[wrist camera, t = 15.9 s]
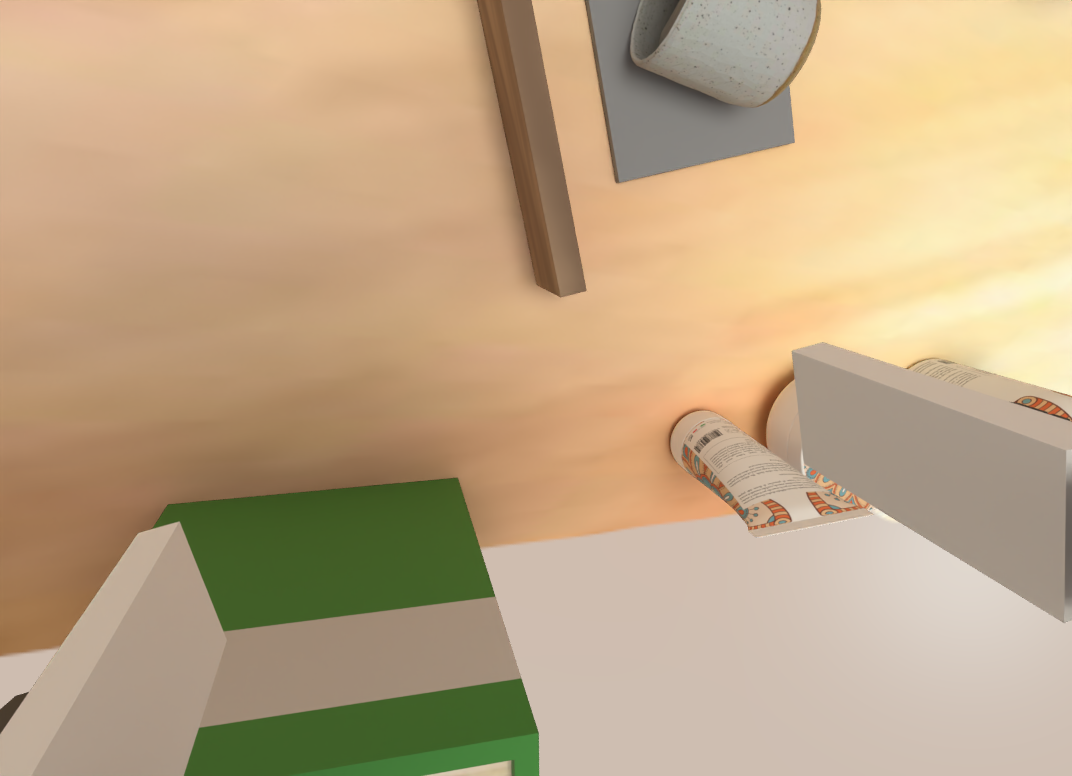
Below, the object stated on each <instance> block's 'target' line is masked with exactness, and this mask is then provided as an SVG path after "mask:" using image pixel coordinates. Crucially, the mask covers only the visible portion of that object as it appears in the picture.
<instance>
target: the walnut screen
mask: <svg viewBox="0 0 1072 776" xmlns="http://www.w3.org/2000/svg"><path fill="white" fill-rule="evenodd" d="M477 2H478V7H479V12H480V17H481V21H482V26H483V31H484V36H485V40H486V45H487V50H488V55H489V59H490V64H491V69H492V74H493V78H494V83H495V88H496V93H497V97H498V102H499V107H500V112H501V116H502V121H503V126H504V131H505V135H506V140H507V145H508V150H509V154H510V159H511V164H512V169H513V173H514V178H515V183H516V188H517V192H518V197H519V202H520V207H521V211H522V216H523V221H524V226H525V230H526V235H527V240H528V245H529V250H530V254H531V259H532V264H533V269H534V273H535V278H536V283H537V285H538V286H540V287H542V288H544V289H546V290H548V291H550V292H552V293H554V294H555V295H557V296H559V297H564V296H568V295H572V294H576V293H580V292H584V291H586V285H585V280H584V275H583V269H582V264H581V259H580V254H579V248H578V243H577V238H576V233H575V227H574V222H573V217H572V212H571V206H570V201H569V196H568V191H567V185H566V180H565V175H564V169H563V164H562V159H561V154H560V148H559V143H558V138H557V133H556V127H555V122H554V117H553V112H552V106H551V101H550V96H549V91H548V85H547V80H546V75H545V69H544V64H543V59H542V54H541V48H540V43H539V38H538V33H537V27H536V22H535V17H534V12H533V6H532V1H531V0H477Z"/></svg>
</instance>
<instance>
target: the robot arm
mask: <svg viewBox="0 0 1072 776" xmlns="http://www.w3.org/2000/svg"><path fill="white" fill-rule="evenodd" d="M792 358H793V367H794V377H795V386H796V395H797V405H798V414H799V423H800V433H801V442H802V452H803V461H804V464H805V465H807V466H808V467H810V468H812V469H813V470H815V471H817V472H818V473H820V474H822V475H823V476H825V477H826V478H828V479H830V480H831V481H833V482H835V483H836V484H838V485H840V486H841V487H843V488H844V489H846V490H848V491H849V492H851V493H853V494H854V495H856V496H857V497H859V498H861V499H862V500H864V501H866V502H867V503H869V504H871V505H872V506H874V507H875V508H877V509H879V510H880V511H882V512H884V513H885V514H887V515H889V516H890V517H892V518H893V519H895V520H897V521H898V522H900V523H902V524H903V525H905V526H907V527H908V528H910V529H912V530H913V531H915V532H916V533H918V534H920V535H921V536H923V537H925V538H926V539H928V540H930V541H931V542H933V543H934V544H936V545H938V546H939V547H941V548H942V549H944V550H946V551H947V552H949V553H951V554H952V555H954V556H956V557H957V558H959V559H960V560H962V561H964V562H965V563H967V564H969V565H970V566H972V567H974V568H975V569H977V570H978V571H980V572H982V573H983V574H985V575H987V576H988V577H990V578H992V579H993V580H995V581H996V582H998V583H1000V584H1001V585H1003V586H1005V587H1006V588H1008V589H1009V590H1011V591H1013V592H1015V593H1016V594H1018V595H1019V596H1021V597H1022V598H1024V599H1026V600H1027V601H1029V602H1031V603H1033V604H1034V605H1036V606H1037V607H1039V608H1041V609H1042V610H1044V611H1046V612H1047V613H1049V614H1050V615H1052V616H1054V617H1055V618H1057V619H1058V620H1060V621H1062V622H1063V623H1066V622H1068V621H1071V620H1072V422H1071V421H1070V419H1068V418H1065V417H1062V416H1059V415H1056V414H1050V415H1049V414H1048V413H1047V412H1046V411H1043V410H1040V409H1037V408H1034V407H1030V406H1027V405H1024V404H1021V403H1015V402H1008V401H1005V400H1002V399H999V398H996V397H993V396H989V395H986V394H983V393H980V392H977V391H974V390H971V389H968V388H964V387H961V386H958V385H955V384H952V383H949V382H946V381H942V380H939V379H936V378H933V377H930V376H927V375H924V374H921V373H917V372H914V371H911V370H908V369H905V368H902V367H899V366H895V365H892V364H889V363H886V362H883V361H880V360H877V359H874V358H870V357H867V356H864V355H861V354H858V353H855V352H852V351H849V350H845V349H842V348H839V347H836V346H833V345H830V344H827V343H823V342H822V343H818V344H815V345H811V346H808V347H804V348H800V349H797V350H793V351H792ZM226 642H227V639H226V637H225V634H224V632H223V629H222V627H221V624H220V622H219V619H218V617H217V614H216V611H215V609H214V606H213V604H212V601H211V599H210V596H209V594H208V591H207V589H206V586H205V584H204V581H203V579H202V576H201V574H200V571H199V569H198V566H197V564H196V561H195V559H194V556H193V554H192V551H191V549H190V546H189V544H188V541H187V539H186V536H185V534H184V531H183V529H182V526H181V524H180V521H179V522H176V523H172V524H169V525H165V526H161V527H158V528H154V529H151V530H147V531H143V532H140V533H138V534H137V536H136V537H135V538H134V540H133V541H132V543H131V544H130V546H129V547H128V549H127V550H126V552H125V553H124V554H123V556H122V557H121V559H120V560H119V562H118V563H117V565H116V566H115V568H114V569H113V571H112V572H111V573H110V575H109V576H108V578H107V579H106V581H105V582H104V584H103V585H102V587H101V588H100V589H99V591H98V592H97V594H96V595H95V597H94V598H93V600H92V601H91V603H90V604H89V605H88V607H87V608H86V610H85V611H84V613H83V614H82V616H81V617H80V619H79V620H78V622H77V623H76V624H75V626H74V627H73V629H72V630H71V632H70V633H69V635H68V636H67V638H66V639H65V640H64V642H63V643H62V645H61V646H60V648H59V649H58V651H57V652H56V654H55V655H54V657H53V658H52V659H51V661H50V662H49V664H48V665H47V667H46V669H45V670H44V671H43V673H42V674H41V676H40V677H39V678H38V680H37V681H36V683H35V684H34V686H33V687H32V689H31V690H30V692H27V693H24V694H21V695H17V696H15V697H14V698H13V699H12V700H11V701H9V702H8V703H7V704H6V705H5V706H4V707H3V708H1V709H0V776H184V773H185V770H186V767H187V764H188V760H189V757H190V754H191V751H192V748H193V745H194V742H195V739H196V735H197V732H198V729H199V726H200V723H201V720H202V717H203V714H204V710H205V707H206V704H207V701H208V698H209V695H210V692H211V689H212V685H213V682H214V679H215V676H216V673H217V670H218V667H219V663H220V660H221V657H222V654H223V651H224V648H225V645H226Z"/></svg>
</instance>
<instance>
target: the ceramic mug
mask: <svg viewBox="0 0 1072 776" xmlns="http://www.w3.org/2000/svg"><path fill="white" fill-rule="evenodd" d="M820 19H821V2H820V0H641V1H640V4H639V7H638V10H637V14H636V17H635V21H634V23H633V30H632V33H631V44H630V54H631V58H632V60H633V62H634V63H635V64H636V65H637V66H639V67H641V68H643V69H646V70H648V71H651V72H653V73H656V74H658V75H661V76H663V77H665V78H668V79H670V80H672V81H675V82H677V83H679V84H682V85H684V86H687V87H689V88H692V89H695V90H698V91H700V92H703V93H705V94H707V95H709V96H711V97H714V98H716V99H718V100H720V101H723V102H725V103H728V104H732V105H737V106H741V107H749V108H753V107H759V106H761V105H764V104H767V103H768V102H770V101H771V100H773V99H774V98H776V97H777V96H778V95H779V94H781V93H782V92H783V91H784V90H785V89H786V88H787V87H788V86H789V84H790V83H791V82H792V81H793V79H794V78H795V77H796V75H797V74H798V73H799V71H800V70H801V68H802V66H803V65H804V63H805V62H806V60H807V58H808V56H809V54H810V51H811V49H812V47H813V45H814V42H815V39H816V36H817V33H818V30H819V25H820Z"/></svg>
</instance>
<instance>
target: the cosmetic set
mask: <svg viewBox="0 0 1072 776" xmlns="http://www.w3.org/2000/svg"><path fill="white" fill-rule="evenodd" d="M908 370H911V371H914V372H917V373H921V374H924V375H927V376H930V377H933V378H936V379H939V380H942V381H946V382H949V383H952V384H955V385H958V386H961V387H964V388H968V389H971V390H974V391H977V392H980V393H983V394H986V395H989V396H993V397H996V398H999V399H1002V400H1005V401H1008V402H1015V403H1021V404H1024V405H1027V406H1030V407H1034V408H1037V409H1040V410H1043V411H1046V412H1047V413H1048V414H1049V415H1050V414H1056V415H1059V416H1062V417H1065V418H1068V419H1070V421H1071V422H1072V396H1070V395H1067V394H1063V393H1060V392H1056V391H1053V390H1049V389H1046V388H1042V387H1039V386H1035V385H1031V384H1028V383H1024V382H1021V381H1017V380H1014V379H1010V378H1007V377H1003V376H1000V375H996V374H993V373H989V372H986V371H982V370H978V369H975V368H971V367H968V366H964V365H961V364H957V363H954V362H950V361H946V360H942V359H929V360H925V361H921V362H919V363H917V364H915V365H913V366H912V367H910V368H909V369H908ZM766 441H767V447H768V449H767V448H766V447H764V446H763V445H761V444H760V443H758V442H757V441H756V440H754V439H753V438H752V437H750V436H749V435H747V434H746V433H745V432H743V431H742V430H740V429H739V428H738V427H736V426H735V425H734V424H732V423H731V422H730V421H728V420H727V419H725V418H723V417H722V416H720V415H719V414H717V413H714V412H711V411H696V412H693V413H690V414H688V415H686V416H685V417H684V418H682V419H681V420H680V421H679V422H678V424H677V425H676V426H675V428H674V430H673V433H672V436H671V443H670V444H671V451H672V454H673V457H674V459H675V460H676V462H677V463H678V464H679V465H680V466H681V467H682V468H684V469H685V470H686V471H687V472H688V473H689V474H691V475H692V476H693V477H695V478H696V479H698V480H699V481H700V482H701V483H703V484H704V485H705V486H706V487H708V488H709V489H710V490H711V491H713V492H714V493H715V494H716V495H718V496H719V497H720V498H721V499H723V500H724V501H725V502H726V503H727V504H729V505H730V506H731V507H732V508H733V509H734V510H735V511H736V512H737V513H738V514H739V516H740V517H741V518H742V519H743V520H744V521H745V523H746V524H747V526H748V531H749V532H750V533H751V534H752V535H753V536H754V537H756V538H760V537H765V536H771V535H776V534H781V533H785V532H791V531H796V530H801V529H806V528H811V527H816V526H821V525H826V524H831V523H836V522H841V521H846V520H851V519H856V518H861V517H866V516H871V515H874V514H873V513H871V512H869V511H872V510H875V509H877V508H875V507H874V506H872V505H871V504H869V503H867V502H866V501H864V500H862V499H861V498H859V497H857V496H856V495H854V494H853V493H851V492H849V491H848V490H846V489H844V488H843V487H841V486H840V485H838V484H836V483H835V482H833V481H831V480H830V479H828V478H826V477H825V476H823V475H822V474H820V473H818V472H817V471H815V470H813V469H812V468H810V467H808V466H807V465H805V464H804V461H803V452H802V442H801V433H800V423H799V414H798V405H797V395H796V386H795V379H794V380H793V381H792V382H790V383H789V384H788V385H787V386H786V387H785V388H784V389H783V391H782V392H781V393H780V394H779V396H778V397H777V399H776V400H775V402H774V404H773V406H772V408H771V411H770V414H769V417H768V421H767V427H766Z"/></svg>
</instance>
